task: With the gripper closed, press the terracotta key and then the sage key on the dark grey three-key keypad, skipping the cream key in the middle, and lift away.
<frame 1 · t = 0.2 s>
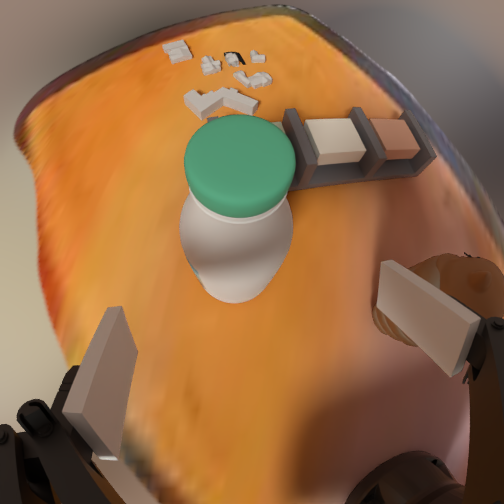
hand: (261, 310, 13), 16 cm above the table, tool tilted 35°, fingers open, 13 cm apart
keypad: (324, 158, 35), on the table
white puzzle pieces: (235, 71, 39), on the table
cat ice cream: (381, 315, 30), on the table
milk bottle: (234, 267, 30), on the table
cream key: (333, 140, 31), point 4 cm above the table, slide at 0.0 cm
terracotta key: (392, 138, 32), point 4 cm above the table, slide at 0.0 cm
sage key: (259, 147, 30), point 4 cm above the table, slide at 0.0 cm
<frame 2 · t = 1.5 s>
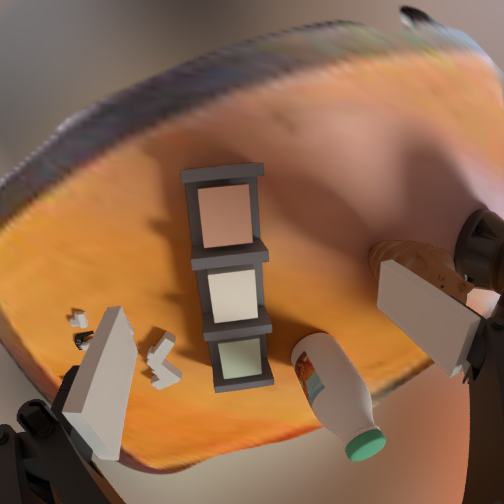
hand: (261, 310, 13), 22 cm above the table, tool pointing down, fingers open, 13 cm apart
keypad: (229, 279, 36), on the table
white puzzle pieces: (103, 339, 37), on the table
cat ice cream: (373, 252, 39), on the table
milk bottle: (313, 350, 42), on the table
cream key: (232, 292, 33), point 4 cm above the table, slide at 0.0 cm
terracotta key: (225, 214, 30), point 4 cm above the table, slide at 0.0 cm
sage key: (239, 354, 35), point 4 cm above the table, slide at 0.0 cm
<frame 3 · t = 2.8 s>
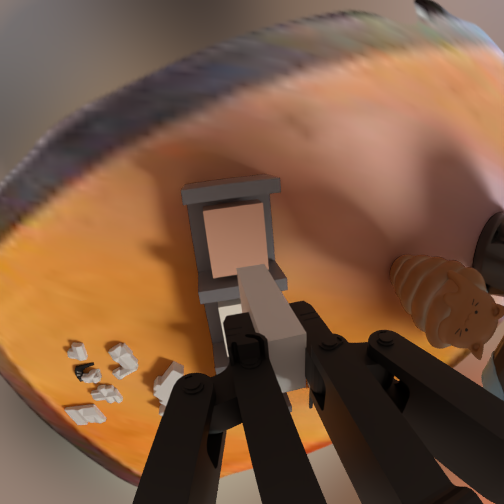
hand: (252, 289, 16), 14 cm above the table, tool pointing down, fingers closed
keypad: (241, 305, 32), on the table
white puzzle pieces: (105, 370, 33), on the table
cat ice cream: (394, 266, 35), on the table
cream key: (246, 323, 29), point 4 cm above the table, slide at 0.0 cm
terracotta key: (235, 237, 26), point 4 cm above the table, slide at 0.0 cm
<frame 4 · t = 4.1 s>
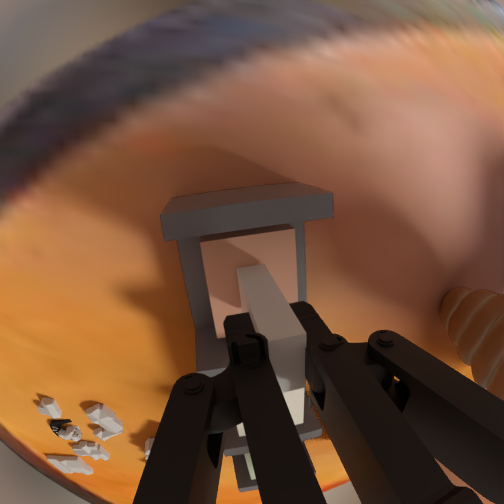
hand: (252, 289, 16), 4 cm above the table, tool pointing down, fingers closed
keypad: (256, 364, 22), on the table
white puzzle pieces: (85, 426, 23), on the table
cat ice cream: (444, 300, 25), on the table
cream key: (265, 396, 19), point 4 cm above the table, slide at 0.0 cm
terracotta key: (250, 278, 17), point 3 cm above the table, slide at 1.2 cm, touching gripper
sage key: (272, 453, 22), point 4 cm above the table, slide at 0.0 cm
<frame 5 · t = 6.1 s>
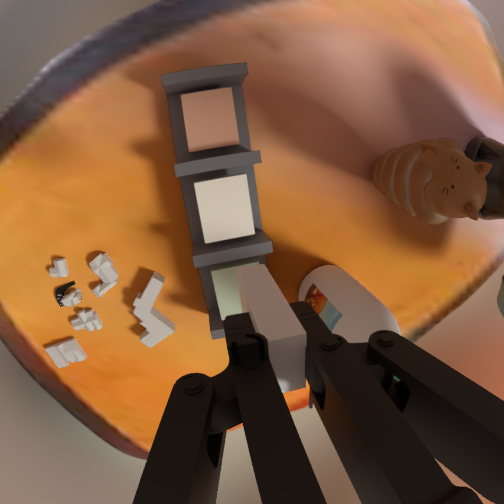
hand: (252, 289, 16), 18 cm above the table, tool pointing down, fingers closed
keypad: (221, 201, 32), on the table
white puzzle pieces: (86, 291, 33), on the table
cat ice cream: (376, 171, 34), on the table
milk bottle: (322, 289, 38), on the table
cream key: (224, 207, 29), point 4 cm above the table, slide at 0.0 cm
terracotta key: (209, 120, 27), point 2 cm above the table, slide at 1.4 cm
sage key: (238, 287, 32), point 4 cm above the table, slide at 0.0 cm
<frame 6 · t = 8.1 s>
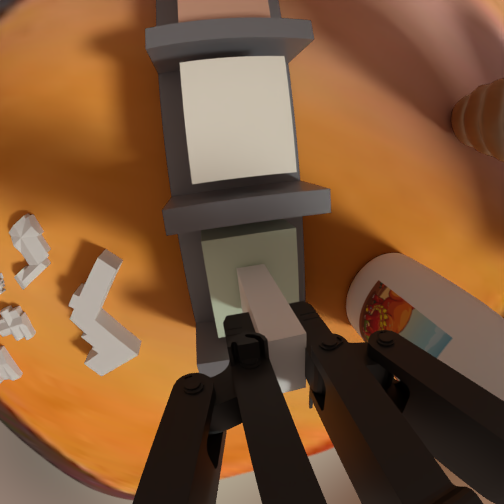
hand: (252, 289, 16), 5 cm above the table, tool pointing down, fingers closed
keypad: (228, 125, 17), on the table
white puzzle pieces: (12, 278, 17), on the table
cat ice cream: (453, 121, 19), on the table
milk bottle: (380, 291, 23), on the table
cream key: (236, 118, 13), point 4 cm above the table, slide at 0.0 cm
sage key: (251, 278, 17), point 3 cm above the table, slide at 0.7 cm, touching gripper
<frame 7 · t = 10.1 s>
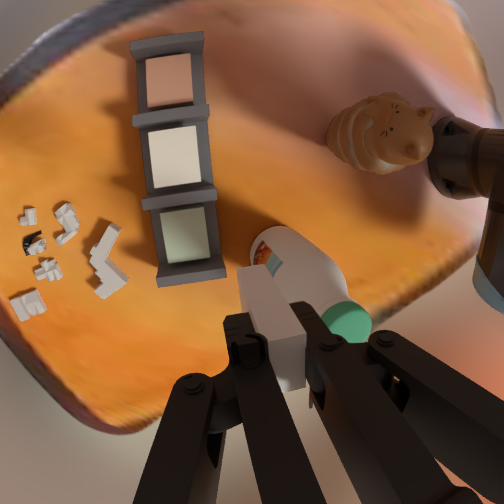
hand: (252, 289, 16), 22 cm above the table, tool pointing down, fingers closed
keypad: (176, 156, 32), on the table
white puzzle pieces: (51, 241, 32), on the table
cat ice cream: (332, 138, 36), on the table
milk bottle: (276, 251, 39), on the table
cream key: (175, 156, 29), point 4 cm above the table, slide at 0.0 cm
terracotta key: (169, 81, 27), point 2 cm above the table, slide at 1.4 cm
sage key: (185, 233, 33), point 2 cm above the table, slide at 1.4 cm
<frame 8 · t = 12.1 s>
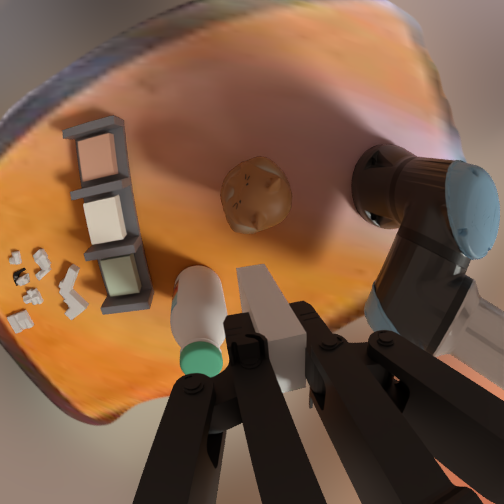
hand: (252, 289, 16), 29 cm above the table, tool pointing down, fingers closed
keypad: (112, 214, 40), on the table
white puzzle pieces: (33, 275, 41), on the table
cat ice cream: (241, 186, 43), on the table
milk bottle: (197, 285, 47), on the table
cream key: (105, 219, 37), point 4 cm above the table, slide at 0.0 cm
terracotta key: (97, 157, 35), point 2 cm above the table, slide at 1.4 cm
sage key: (121, 274, 41), point 2 cm above the table, slide at 1.4 cm
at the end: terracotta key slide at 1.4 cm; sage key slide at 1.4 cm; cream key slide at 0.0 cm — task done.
